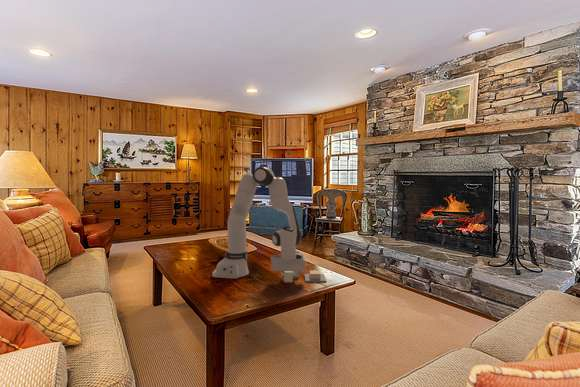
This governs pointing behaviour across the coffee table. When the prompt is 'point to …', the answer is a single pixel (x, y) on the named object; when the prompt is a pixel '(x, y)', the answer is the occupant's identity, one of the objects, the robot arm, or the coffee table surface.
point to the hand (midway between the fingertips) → (288, 277)
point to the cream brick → (288, 276)
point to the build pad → (307, 278)
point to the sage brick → (296, 274)
